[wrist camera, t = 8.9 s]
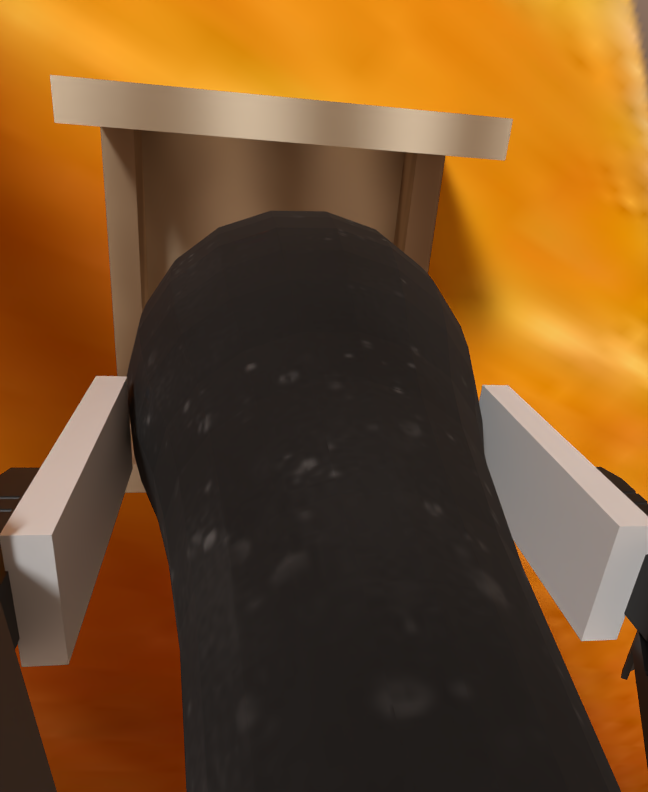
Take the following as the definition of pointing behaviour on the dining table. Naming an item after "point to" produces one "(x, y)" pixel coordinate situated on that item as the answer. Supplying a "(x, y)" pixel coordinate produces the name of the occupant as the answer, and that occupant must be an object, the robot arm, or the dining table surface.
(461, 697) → the bottle
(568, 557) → the robot arm
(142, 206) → the cradle
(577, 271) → the dining table surface
